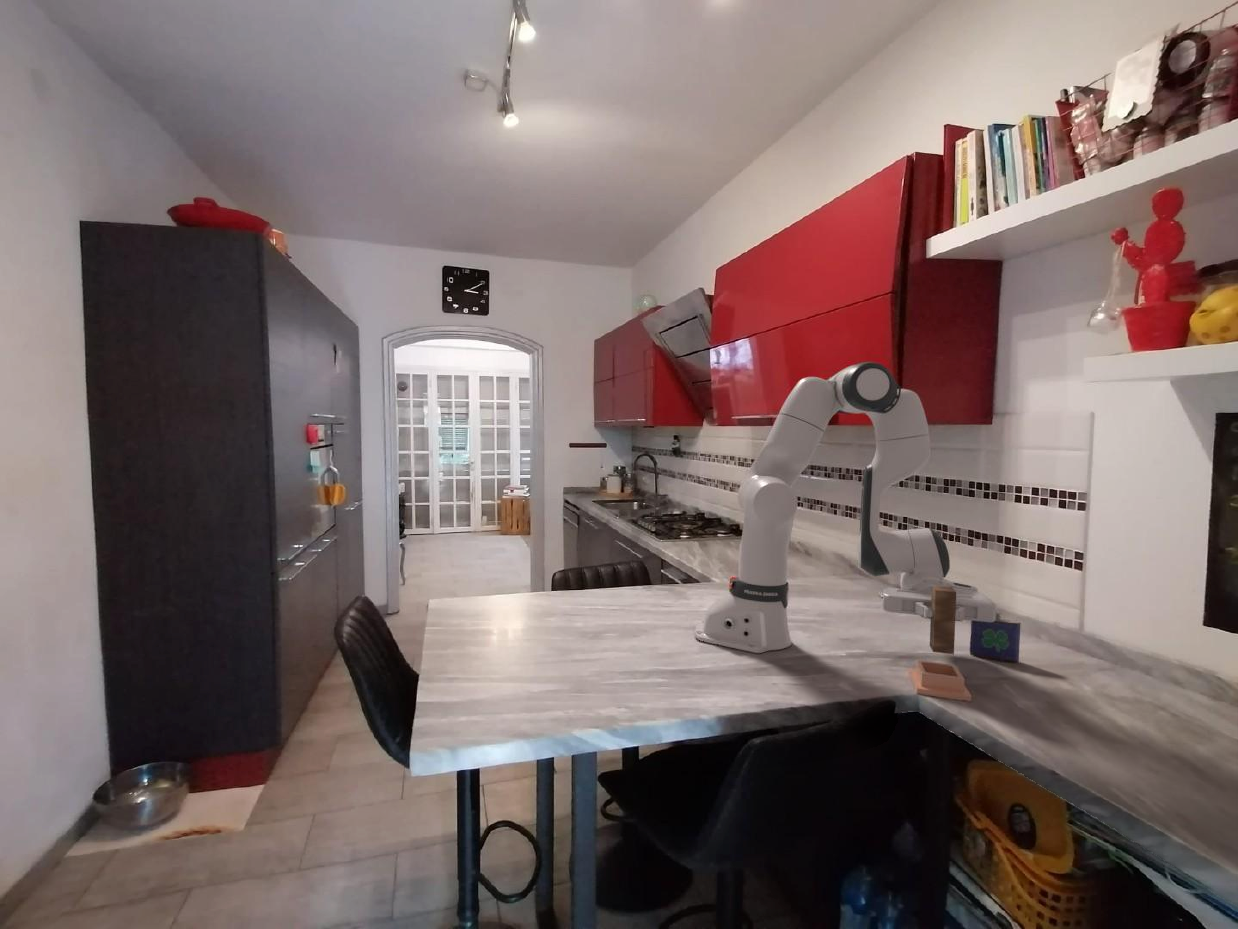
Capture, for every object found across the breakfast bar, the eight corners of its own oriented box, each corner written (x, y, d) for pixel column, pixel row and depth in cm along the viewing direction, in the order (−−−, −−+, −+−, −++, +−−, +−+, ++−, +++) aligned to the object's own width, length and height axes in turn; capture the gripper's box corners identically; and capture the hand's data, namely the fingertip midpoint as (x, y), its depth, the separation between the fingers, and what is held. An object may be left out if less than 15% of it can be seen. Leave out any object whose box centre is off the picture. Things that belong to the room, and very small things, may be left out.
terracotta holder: (916, 693, 107) (917, 675, 107) (908, 673, 116) (909, 656, 116) (971, 701, 104) (972, 683, 104) (958, 680, 113) (959, 663, 113)
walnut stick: (933, 652, 109) (935, 590, 108) (929, 645, 112) (931, 585, 111) (953, 654, 107) (956, 592, 107) (949, 648, 111) (952, 587, 110)
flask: (1017, 660, 125) (1020, 612, 124) (1020, 665, 122) (1022, 616, 122) (968, 652, 129) (971, 606, 129) (970, 656, 127) (972, 609, 126)
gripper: (877, 578, 125) (885, 593, 112) (984, 587, 118) (1005, 605, 105) (876, 606, 125) (884, 625, 112) (983, 617, 118) (1004, 638, 105)
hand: (943, 615), depth 108 cm, fingers closed on walnut stick, 3 cm apart
